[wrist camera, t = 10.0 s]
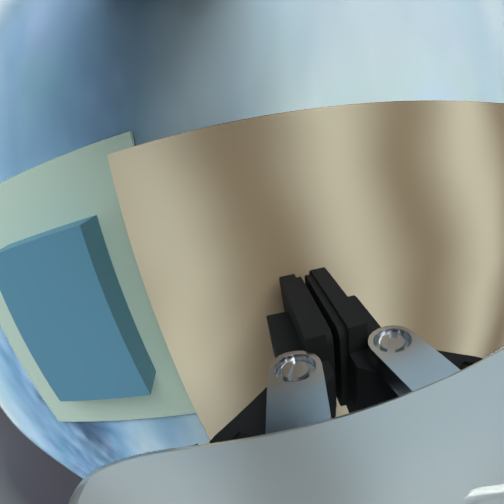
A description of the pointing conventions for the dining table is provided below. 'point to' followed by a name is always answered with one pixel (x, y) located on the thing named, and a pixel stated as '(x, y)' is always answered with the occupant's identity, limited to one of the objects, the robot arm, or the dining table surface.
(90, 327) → the blue rectangular block
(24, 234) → the mat
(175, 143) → the beige wood-grain panel
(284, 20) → the dining table surface
